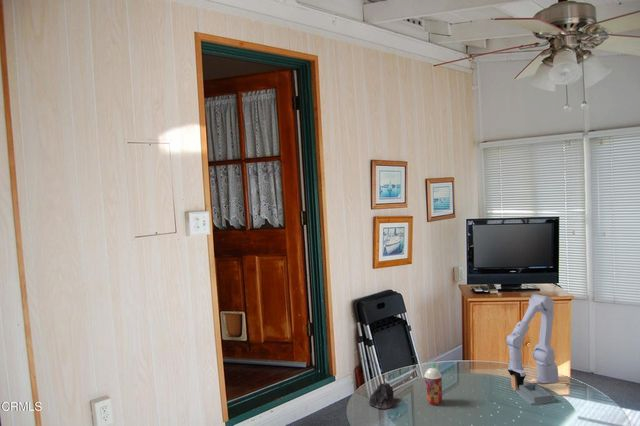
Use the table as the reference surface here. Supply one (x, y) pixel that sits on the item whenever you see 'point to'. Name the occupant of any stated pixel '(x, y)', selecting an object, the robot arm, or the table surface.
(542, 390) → the well board
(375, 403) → the crystal cluster
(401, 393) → the table surface
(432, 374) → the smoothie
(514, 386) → the wooden block
